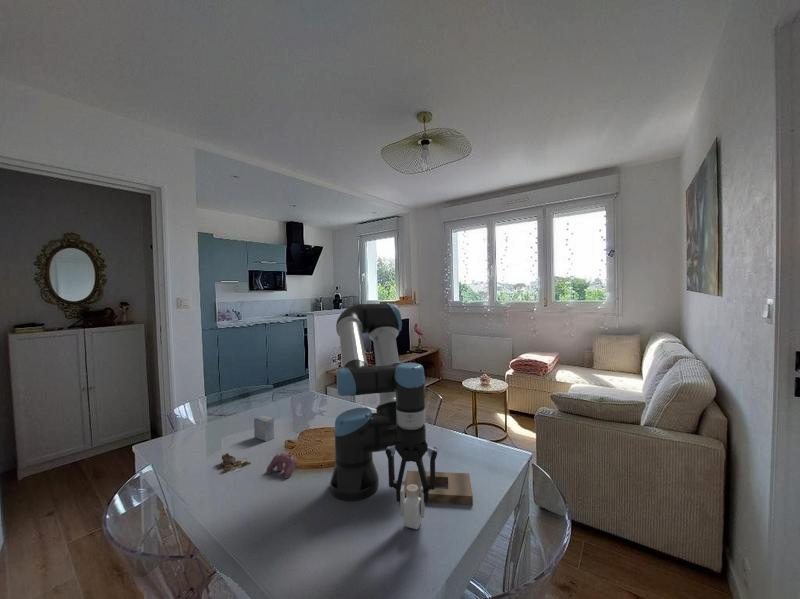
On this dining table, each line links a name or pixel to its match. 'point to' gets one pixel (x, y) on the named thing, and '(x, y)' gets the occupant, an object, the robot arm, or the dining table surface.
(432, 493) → the spice block
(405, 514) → the pepper shaker
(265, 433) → the medicine box
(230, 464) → the frog figurine
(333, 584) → the dining table surface
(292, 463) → the video game controller
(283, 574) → the dining table surface
